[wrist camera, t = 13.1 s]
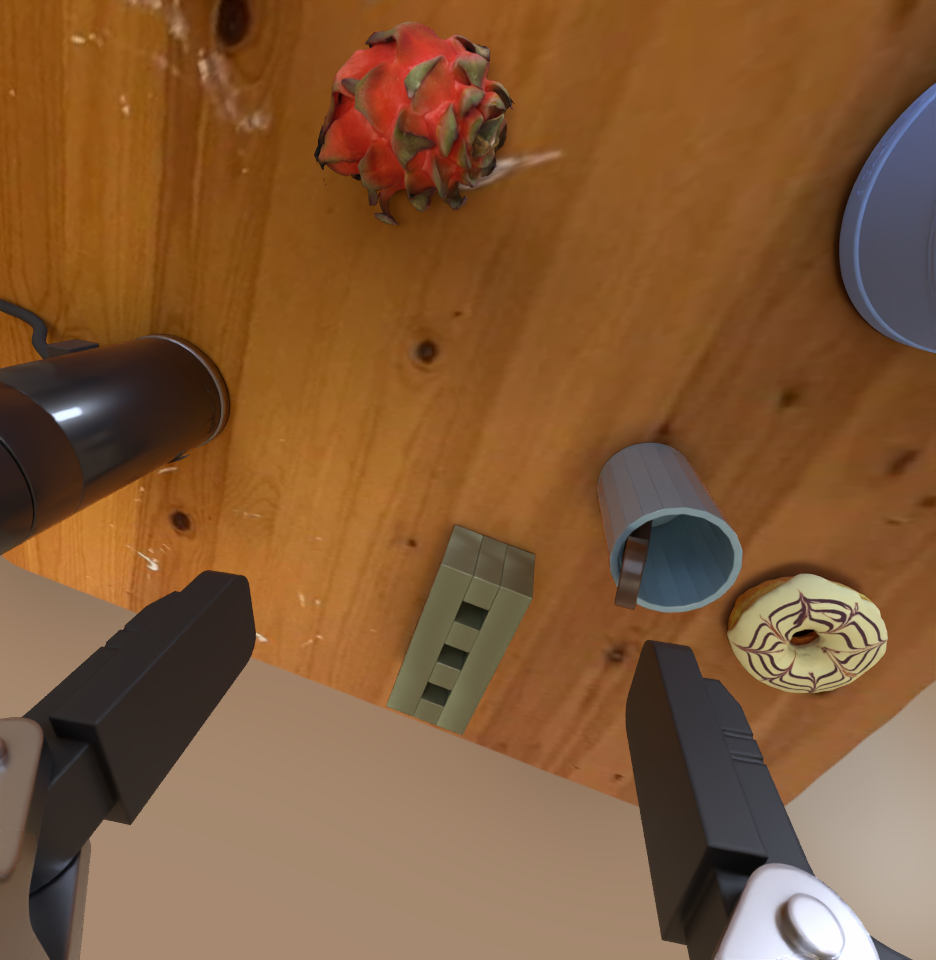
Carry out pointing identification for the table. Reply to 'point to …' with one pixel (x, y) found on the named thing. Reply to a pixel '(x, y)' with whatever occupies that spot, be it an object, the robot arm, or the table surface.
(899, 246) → the water jug
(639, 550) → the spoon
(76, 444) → the robot arm
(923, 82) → the table surface
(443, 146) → the dragon fruit
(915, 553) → the table surface
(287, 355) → the table surface
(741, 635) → the decorated donut
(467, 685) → the stand
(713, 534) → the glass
